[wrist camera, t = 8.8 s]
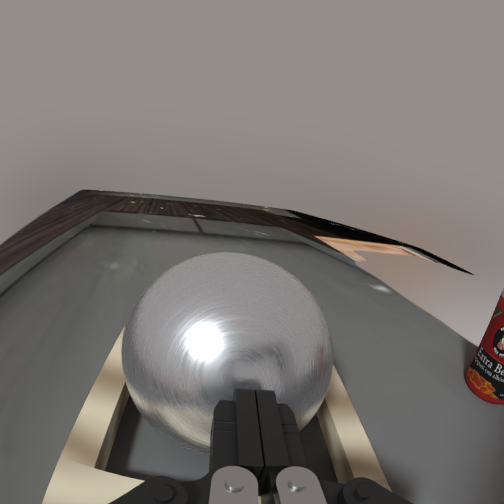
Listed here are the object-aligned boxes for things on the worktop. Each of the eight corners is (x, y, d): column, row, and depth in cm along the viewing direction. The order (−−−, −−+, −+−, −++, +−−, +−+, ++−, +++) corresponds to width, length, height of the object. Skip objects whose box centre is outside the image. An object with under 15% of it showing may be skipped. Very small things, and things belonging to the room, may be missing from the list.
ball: (416, 369, 12) (323, 348, 24) (254, 170, 13) (228, 238, 24) (231, 534, 9) (215, 443, 21) (38, 349, 10) (113, 334, 21)
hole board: (413, 610, 3) (436, 603, 3) (33, 605, 1) (15, 600, 1) (316, 356, 28) (321, 340, 28) (130, 334, 26) (130, 316, 26)
